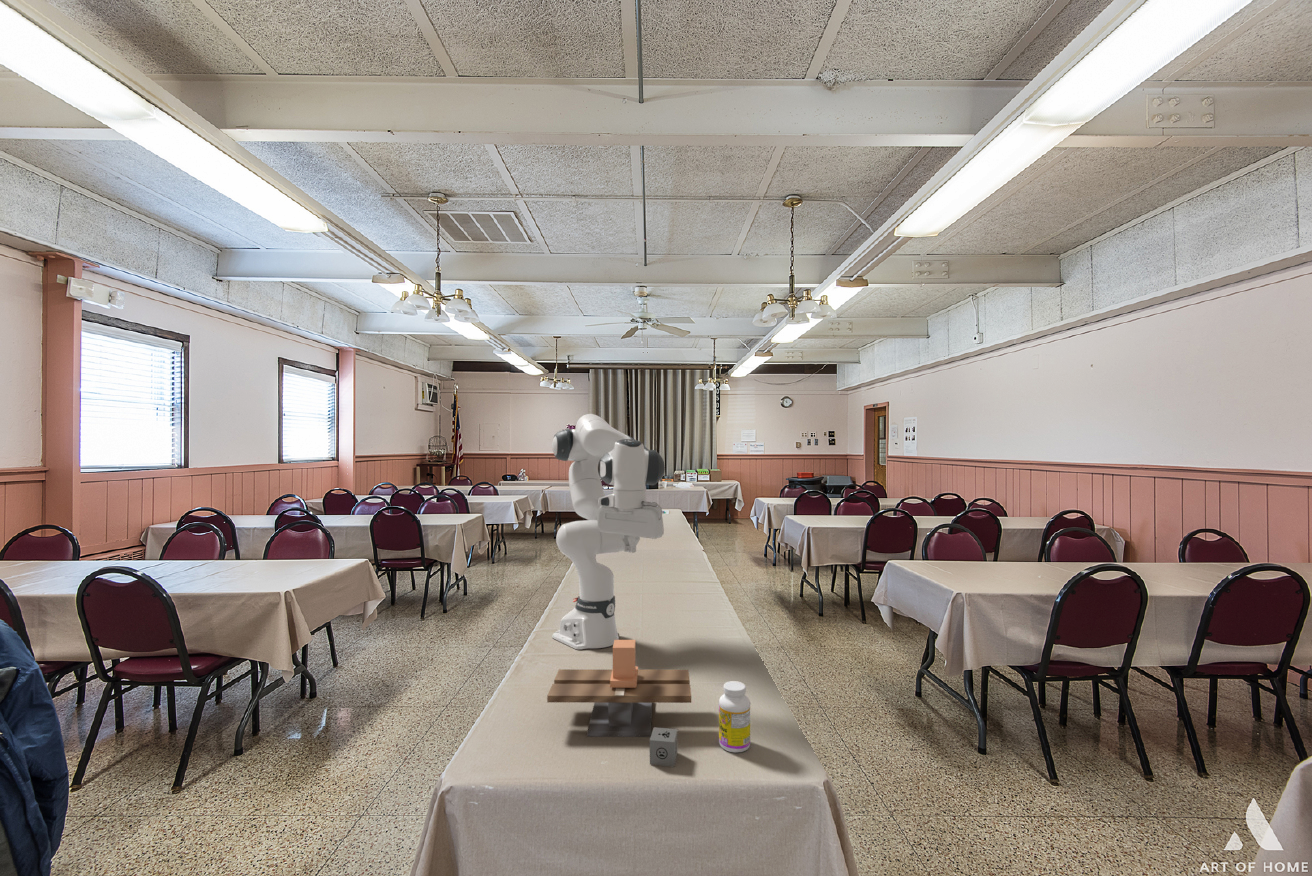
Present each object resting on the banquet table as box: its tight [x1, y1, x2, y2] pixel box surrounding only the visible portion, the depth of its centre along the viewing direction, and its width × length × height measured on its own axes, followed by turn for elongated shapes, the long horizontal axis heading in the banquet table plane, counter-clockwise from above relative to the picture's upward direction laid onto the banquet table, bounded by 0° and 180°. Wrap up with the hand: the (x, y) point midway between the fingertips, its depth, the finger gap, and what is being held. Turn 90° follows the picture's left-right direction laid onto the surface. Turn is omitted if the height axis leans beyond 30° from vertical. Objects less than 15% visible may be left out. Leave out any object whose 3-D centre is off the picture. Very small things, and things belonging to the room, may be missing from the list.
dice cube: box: [649, 726, 678, 768], centre depth 116 cm, size 5×5×5 cm
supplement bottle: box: [718, 680, 751, 754], centre depth 121 cm, size 7×7×13 cm
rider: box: [610, 639, 639, 688], centre depth 132 cm, size 6×8×10 cm
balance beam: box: [546, 668, 692, 738], centre depth 132 cm, size 32×16×9 cm, turn 89°
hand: (629, 551), depth 151 cm, fingers closed
